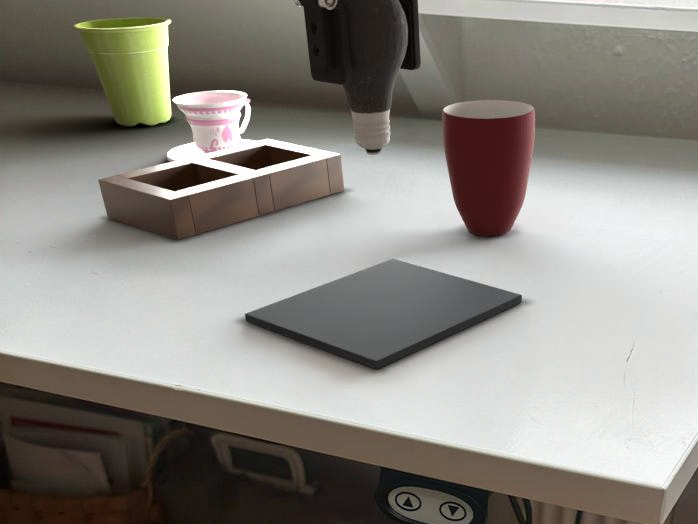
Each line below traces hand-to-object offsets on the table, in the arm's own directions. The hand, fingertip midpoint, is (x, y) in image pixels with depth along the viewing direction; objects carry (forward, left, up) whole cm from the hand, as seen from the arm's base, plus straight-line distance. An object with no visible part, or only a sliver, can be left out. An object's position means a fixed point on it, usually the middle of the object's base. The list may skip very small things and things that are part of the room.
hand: (367, 71), depth 62 cm
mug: (+21, +8, -16) cm, 28 cm away
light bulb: (0, 0, -5) cm, 5 cm away
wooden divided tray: (+11, +33, -16) cm, 39 cm away
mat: (0, 0, -16) cm, 16 cm away
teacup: (+23, +50, -16) cm, 57 cm away
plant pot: (+29, +74, -16) cm, 81 cm away
